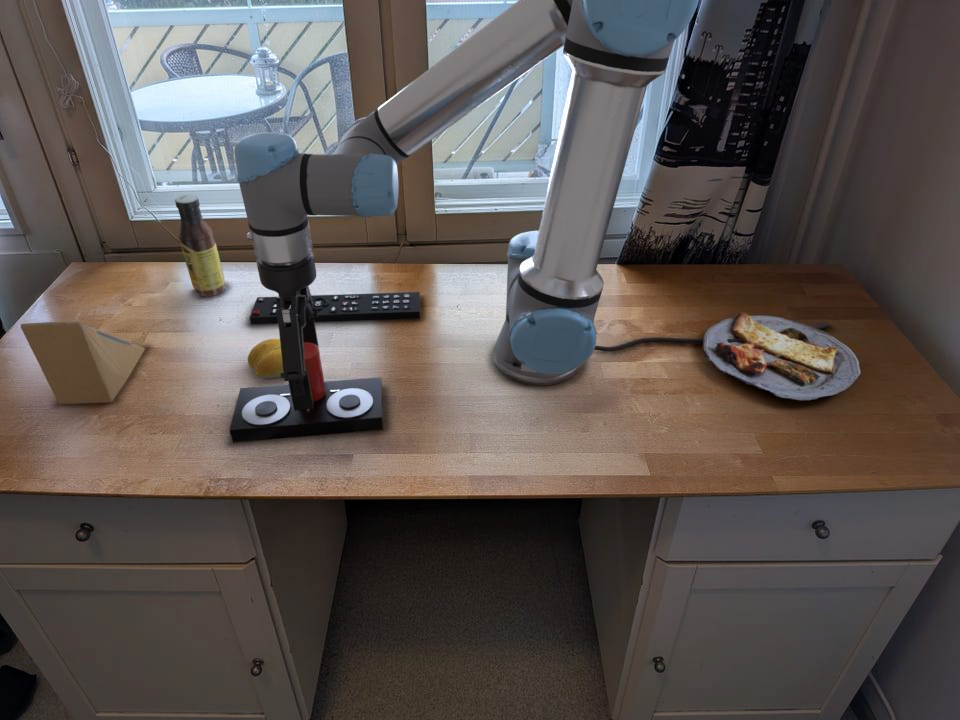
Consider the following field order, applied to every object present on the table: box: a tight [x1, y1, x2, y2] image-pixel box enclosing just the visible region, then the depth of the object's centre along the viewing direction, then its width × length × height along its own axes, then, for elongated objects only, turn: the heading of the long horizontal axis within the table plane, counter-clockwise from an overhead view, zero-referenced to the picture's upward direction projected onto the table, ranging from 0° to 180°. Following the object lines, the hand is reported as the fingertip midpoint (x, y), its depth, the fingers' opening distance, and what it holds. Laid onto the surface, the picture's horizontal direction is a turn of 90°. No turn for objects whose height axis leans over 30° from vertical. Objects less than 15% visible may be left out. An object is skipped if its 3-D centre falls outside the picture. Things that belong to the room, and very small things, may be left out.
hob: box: [228, 377, 384, 444], centre depth 101 cm, size 22×12×3 cm, turn 98°
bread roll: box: [247, 338, 283, 380], centre depth 110 cm, size 8×9×4 cm
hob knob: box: [304, 342, 326, 402], centre depth 99 cm, size 5×5×8 cm
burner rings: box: [242, 388, 373, 426], centre depth 98 cm, size 19×7×1 cm, turn 98°
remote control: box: [249, 291, 421, 326], centre depth 125 cm, size 8×32×2 cm, turn 94°
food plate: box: [701, 311, 862, 401], centre depth 112 cm, size 25×23×4 cm
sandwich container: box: [20, 321, 146, 405], centre depth 104 cm, size 9×15×15 cm, turn 4°
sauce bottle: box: [174, 194, 226, 297], centre depth 126 cm, size 7×6×20 cm
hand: (307, 380), depth 99 cm, fingers open, 13 cm apart
